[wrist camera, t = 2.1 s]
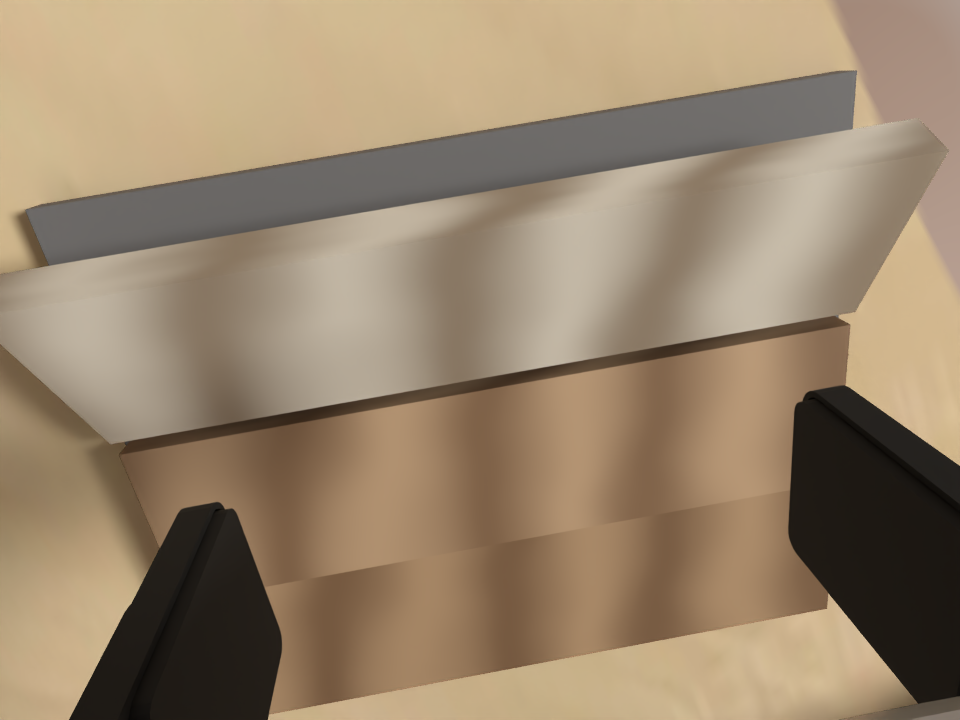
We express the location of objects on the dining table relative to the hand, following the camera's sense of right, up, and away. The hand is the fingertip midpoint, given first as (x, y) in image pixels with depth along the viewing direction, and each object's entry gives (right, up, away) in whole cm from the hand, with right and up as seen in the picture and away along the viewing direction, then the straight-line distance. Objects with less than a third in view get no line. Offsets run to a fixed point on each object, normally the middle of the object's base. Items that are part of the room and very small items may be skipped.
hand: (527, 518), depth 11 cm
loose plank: (-1, +5, +10) cm, 11 cm away
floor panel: (0, 0, +16) cm, 16 cm away
